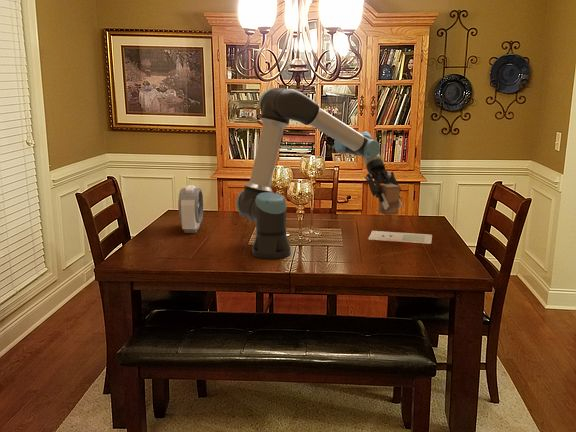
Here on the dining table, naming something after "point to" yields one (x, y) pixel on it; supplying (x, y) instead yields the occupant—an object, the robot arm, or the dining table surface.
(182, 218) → the alarm clock
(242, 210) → the robot arm
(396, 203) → the walnut block
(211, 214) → the dining table surface
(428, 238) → the board
